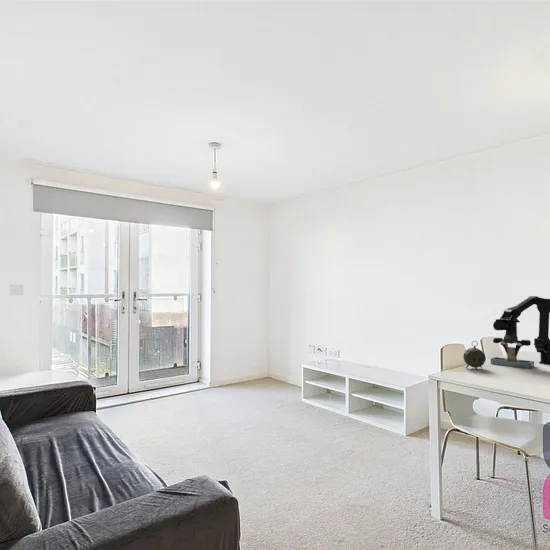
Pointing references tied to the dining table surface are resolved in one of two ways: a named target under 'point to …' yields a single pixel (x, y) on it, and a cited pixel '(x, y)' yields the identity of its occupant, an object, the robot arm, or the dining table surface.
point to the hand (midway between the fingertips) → (511, 355)
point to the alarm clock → (474, 357)
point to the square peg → (511, 354)
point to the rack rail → (513, 362)
